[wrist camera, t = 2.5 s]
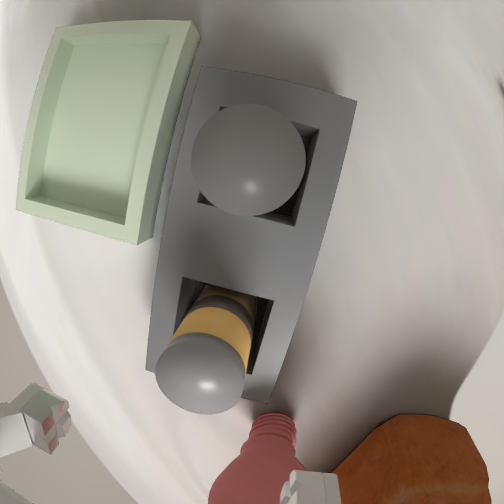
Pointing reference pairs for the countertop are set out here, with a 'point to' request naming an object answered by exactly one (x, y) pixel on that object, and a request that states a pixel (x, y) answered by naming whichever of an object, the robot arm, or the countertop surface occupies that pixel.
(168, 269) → the fuse holder
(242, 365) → the cylinder
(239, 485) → the light bulb
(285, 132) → the ball
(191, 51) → the tray
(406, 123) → the countertop surface
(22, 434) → the robot arm
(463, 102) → the countertop surface
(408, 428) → the bread
